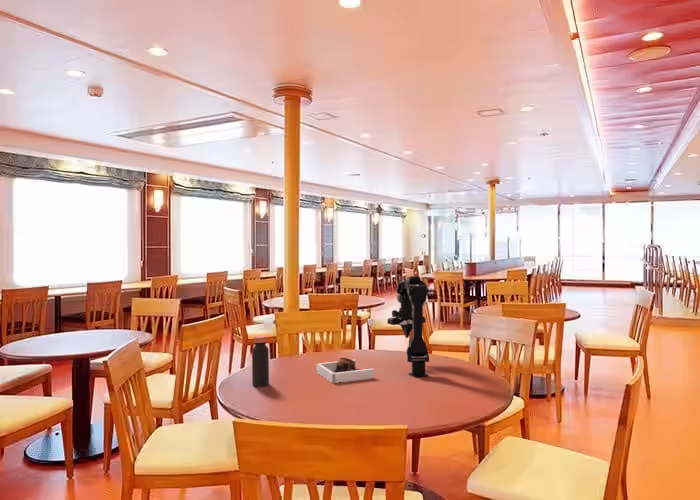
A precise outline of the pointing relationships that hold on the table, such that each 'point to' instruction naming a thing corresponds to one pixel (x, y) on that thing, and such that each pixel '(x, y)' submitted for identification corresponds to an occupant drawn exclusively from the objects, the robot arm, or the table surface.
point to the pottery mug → (344, 365)
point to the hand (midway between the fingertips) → (406, 337)
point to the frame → (342, 373)
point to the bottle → (260, 362)
